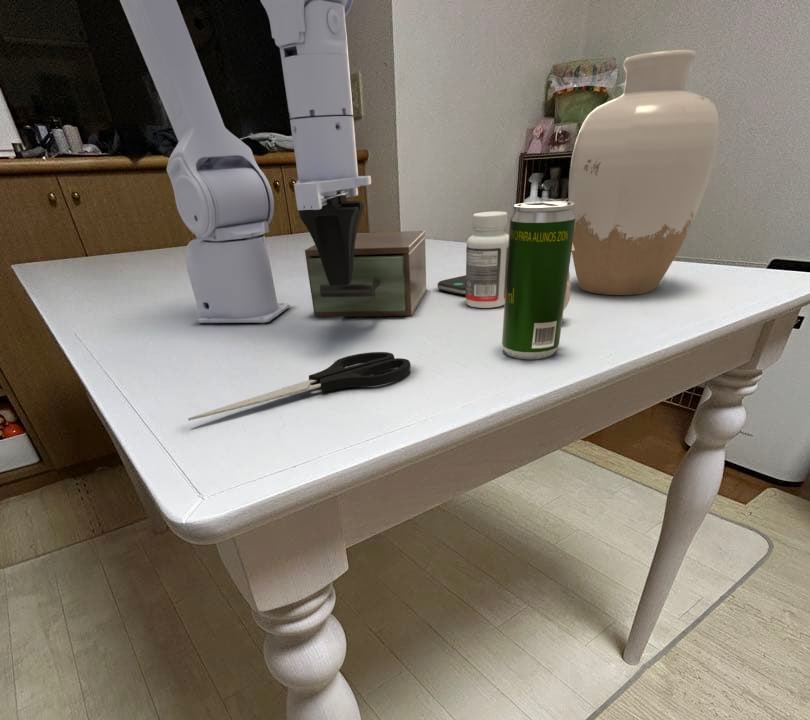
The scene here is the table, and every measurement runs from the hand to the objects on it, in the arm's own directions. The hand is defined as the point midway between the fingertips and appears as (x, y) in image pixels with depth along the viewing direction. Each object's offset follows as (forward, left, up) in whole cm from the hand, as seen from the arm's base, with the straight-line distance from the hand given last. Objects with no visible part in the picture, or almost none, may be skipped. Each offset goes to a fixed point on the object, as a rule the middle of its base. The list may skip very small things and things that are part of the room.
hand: (340, 284), depth 54 cm
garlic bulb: (+21, +4, -5) cm, 22 cm away
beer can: (+20, -6, -5) cm, 22 cm away
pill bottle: (+15, +13, -5) cm, 21 cm away
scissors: (+1, -17, -5) cm, 18 cm away
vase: (+32, +21, -5) cm, 39 cm away
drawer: (0, +10, -4) cm, 11 cm away
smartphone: (+15, +24, -5) cm, 29 cm away
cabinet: (0, +14, -5) cm, 15 cm away
